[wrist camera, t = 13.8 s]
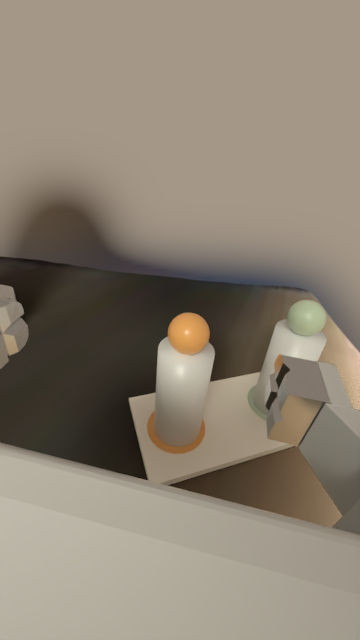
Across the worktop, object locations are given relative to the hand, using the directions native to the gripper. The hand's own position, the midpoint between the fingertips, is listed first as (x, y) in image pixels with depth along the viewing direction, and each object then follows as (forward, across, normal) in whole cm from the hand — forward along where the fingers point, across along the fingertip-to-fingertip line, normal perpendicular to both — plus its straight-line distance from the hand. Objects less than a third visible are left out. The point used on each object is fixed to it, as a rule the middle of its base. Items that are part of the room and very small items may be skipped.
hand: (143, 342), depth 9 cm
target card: (+14, -6, +21) cm, 26 cm away
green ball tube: (+17, -11, +20) cm, 28 cm away
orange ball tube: (+11, -1, +20) cm, 23 cm away
